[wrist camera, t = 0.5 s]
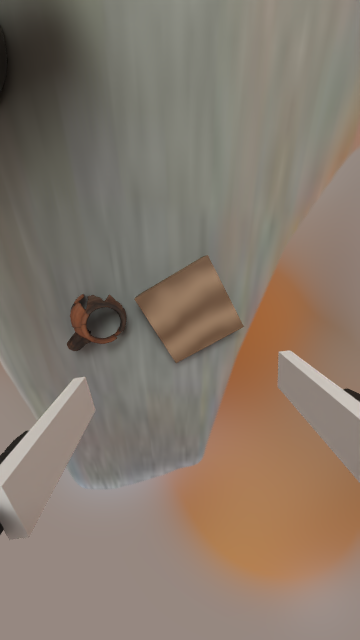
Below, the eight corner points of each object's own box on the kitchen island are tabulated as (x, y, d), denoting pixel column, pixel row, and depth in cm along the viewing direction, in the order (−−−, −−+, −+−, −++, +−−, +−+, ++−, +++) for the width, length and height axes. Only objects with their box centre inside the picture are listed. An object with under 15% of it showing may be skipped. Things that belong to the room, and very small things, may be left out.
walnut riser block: (139, 294, 37) (134, 298, 32) (203, 256, 36) (207, 255, 31) (175, 351, 41) (176, 363, 36) (235, 319, 39) (243, 326, 34)
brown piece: (86, 277, 36) (93, 286, 29) (127, 303, 42) (141, 315, 35) (49, 331, 36) (48, 352, 29) (96, 349, 41) (104, 370, 35)
